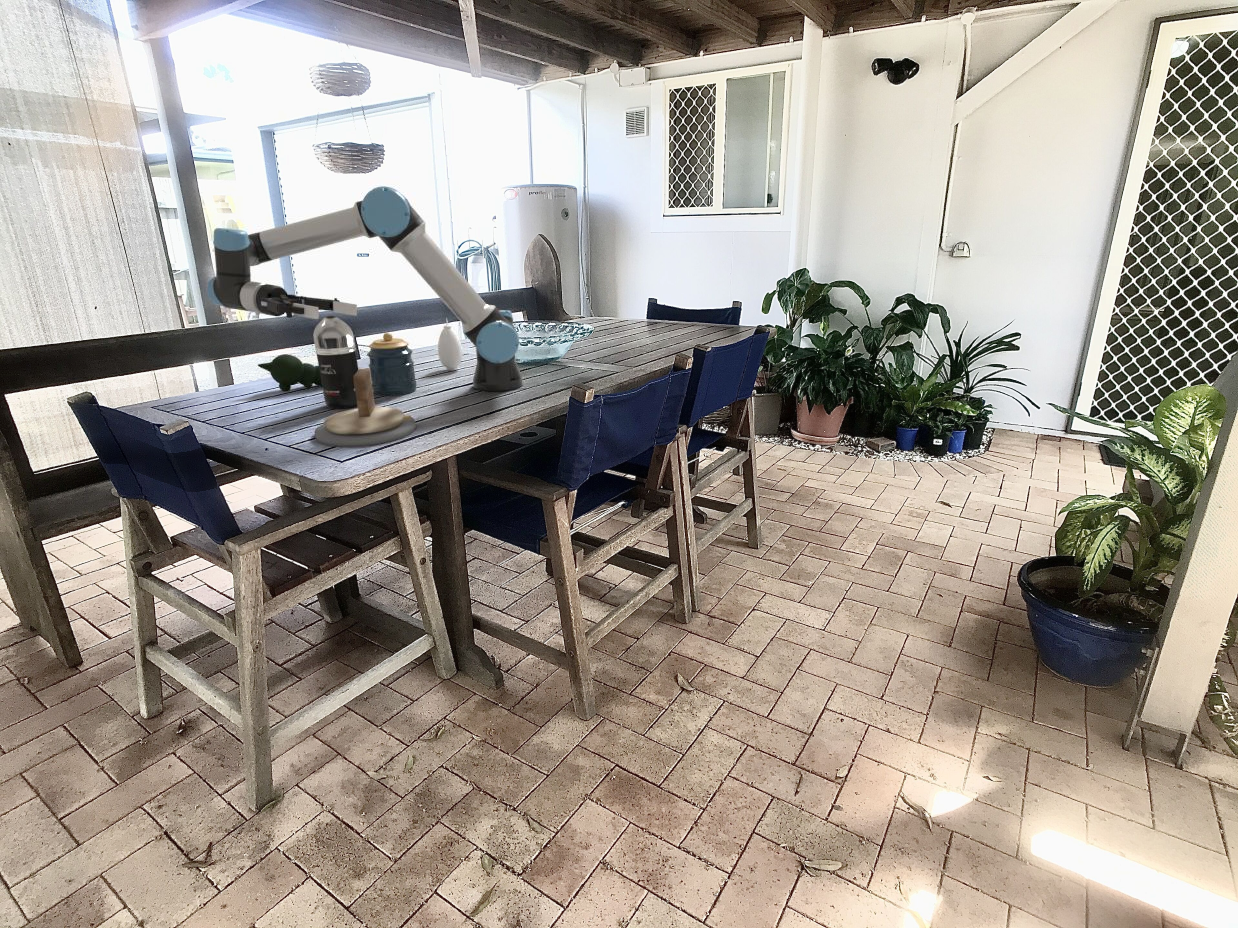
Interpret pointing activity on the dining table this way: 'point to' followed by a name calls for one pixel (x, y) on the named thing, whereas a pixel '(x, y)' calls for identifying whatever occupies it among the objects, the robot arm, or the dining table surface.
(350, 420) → the dial
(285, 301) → the robot arm
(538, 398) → the dining table surface
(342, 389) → the black chrome cylinder
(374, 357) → the canister
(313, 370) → the toy figurine
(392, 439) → the base
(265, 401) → the dining table surface
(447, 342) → the white tall oval piece
